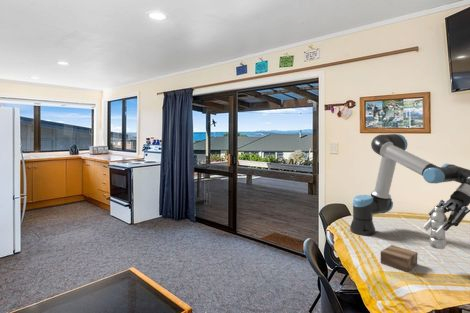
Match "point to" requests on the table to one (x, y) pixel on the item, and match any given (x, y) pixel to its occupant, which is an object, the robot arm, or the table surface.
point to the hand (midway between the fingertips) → (431, 231)
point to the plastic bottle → (436, 222)
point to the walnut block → (399, 258)
